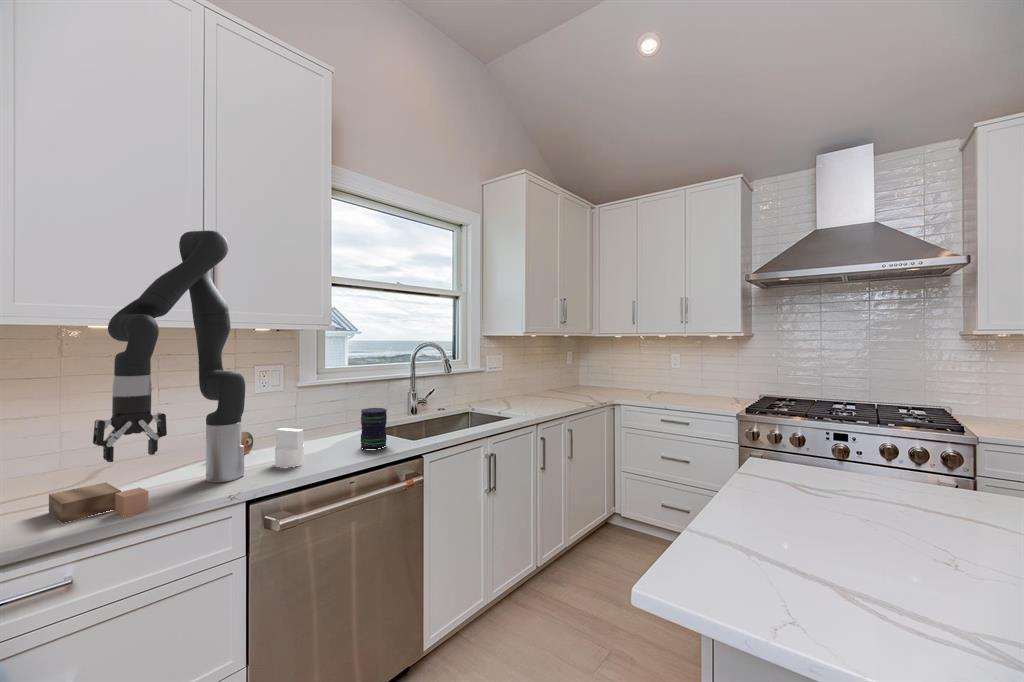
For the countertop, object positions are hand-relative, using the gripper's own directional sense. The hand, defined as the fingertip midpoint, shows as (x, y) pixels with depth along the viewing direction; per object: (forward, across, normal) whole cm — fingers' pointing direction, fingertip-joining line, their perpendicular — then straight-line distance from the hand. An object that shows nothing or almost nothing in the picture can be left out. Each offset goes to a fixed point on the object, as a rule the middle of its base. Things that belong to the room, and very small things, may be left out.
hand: (131, 457), depth 114 cm
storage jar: (+12, -78, +1) cm, 79 cm away
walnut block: (+14, +6, -10) cm, 18 cm away
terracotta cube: (+14, 0, 0) cm, 14 cm away
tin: (+13, -41, -30) cm, 53 cm away
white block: (+13, -46, -5) cm, 48 cm away
